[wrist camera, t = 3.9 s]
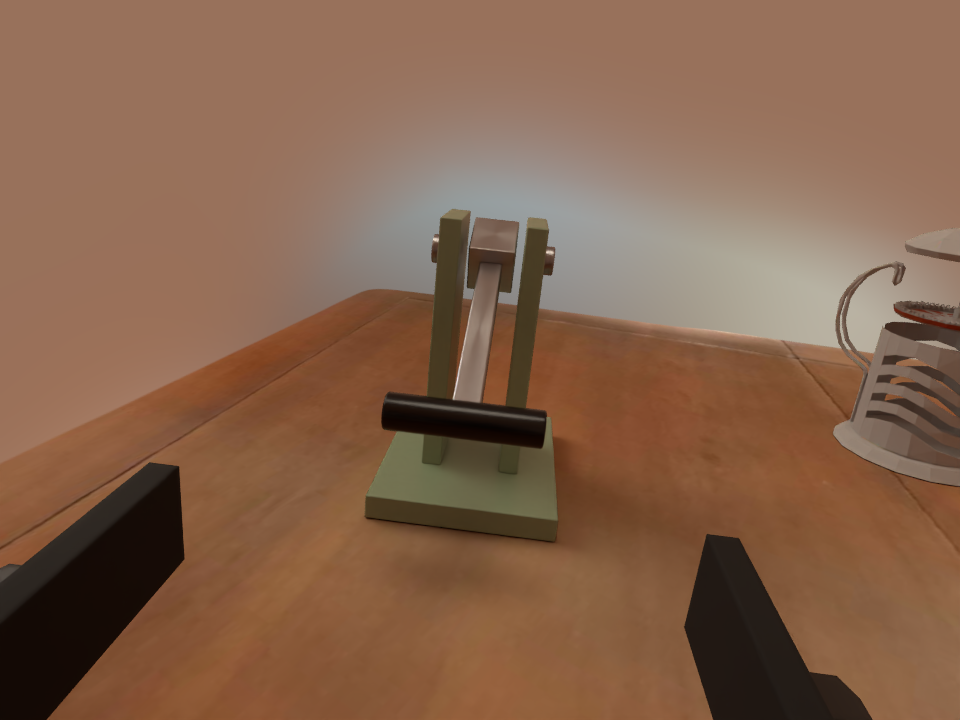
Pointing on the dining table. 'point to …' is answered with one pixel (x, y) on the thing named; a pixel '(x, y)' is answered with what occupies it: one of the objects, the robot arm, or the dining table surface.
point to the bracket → (463, 463)
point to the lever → (474, 360)
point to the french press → (915, 420)
